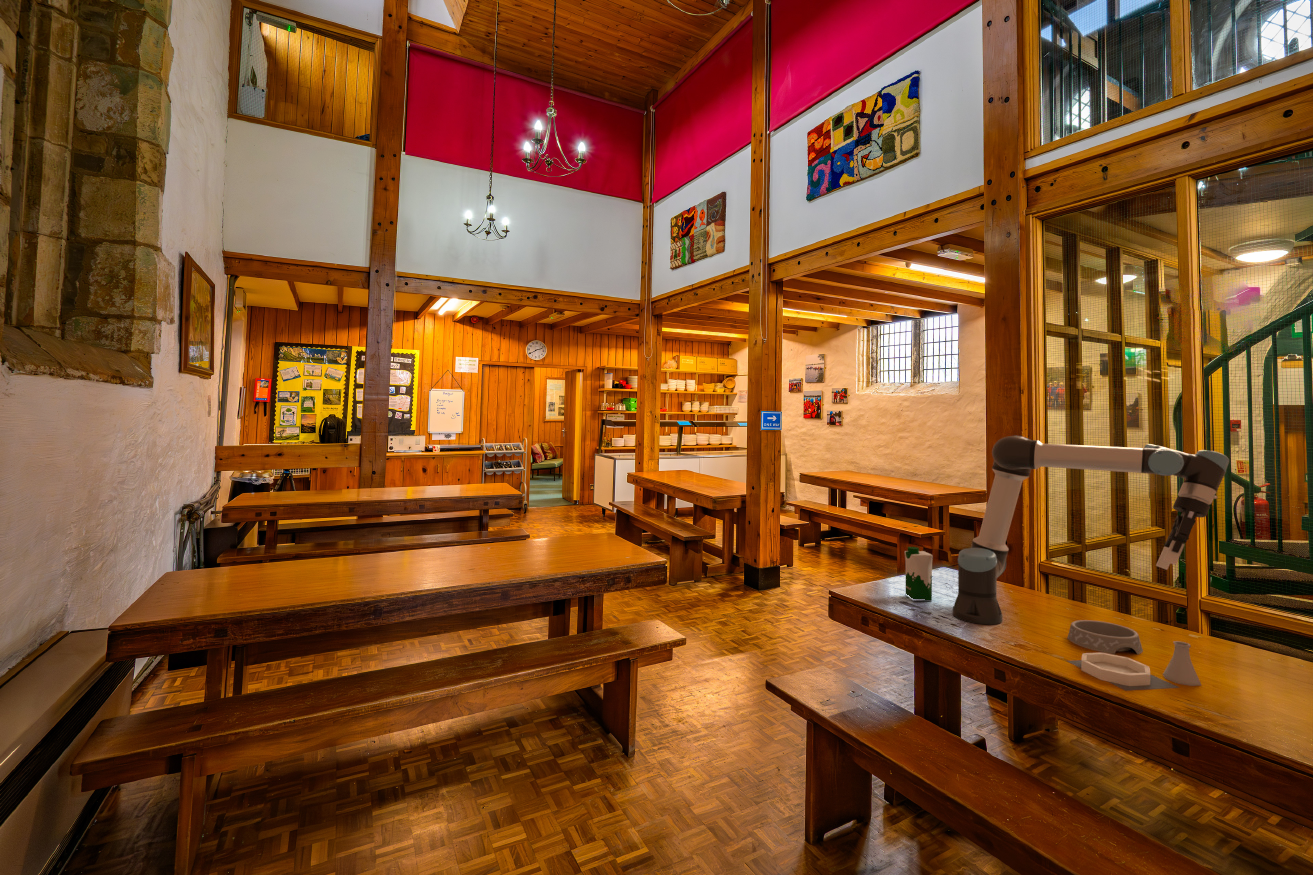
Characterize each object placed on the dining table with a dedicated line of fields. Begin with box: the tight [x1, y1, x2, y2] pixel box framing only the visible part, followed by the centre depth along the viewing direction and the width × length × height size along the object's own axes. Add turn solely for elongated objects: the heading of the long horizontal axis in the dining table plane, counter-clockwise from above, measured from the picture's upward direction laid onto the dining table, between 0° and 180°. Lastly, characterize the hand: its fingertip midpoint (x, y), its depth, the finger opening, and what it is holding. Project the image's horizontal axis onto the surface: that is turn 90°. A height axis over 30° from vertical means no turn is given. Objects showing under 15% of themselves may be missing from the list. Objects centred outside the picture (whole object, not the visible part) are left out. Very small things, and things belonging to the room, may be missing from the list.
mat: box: [1066, 659, 1180, 692], centre depth 149 cm, size 18×15×1 cm
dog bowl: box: [1067, 619, 1144, 655], centre depth 170 cm, size 17×18×5 cm
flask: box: [1162, 640, 1202, 687], centre depth 145 cm, size 7×7×10 cm
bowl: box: [1080, 652, 1151, 686], centre depth 149 cm, size 14×14×3 cm
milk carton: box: [904, 546, 934, 601], centre depth 217 cm, size 9×9×20 cm
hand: (1165, 565), depth 166 cm, fingers open, 13 cm apart
